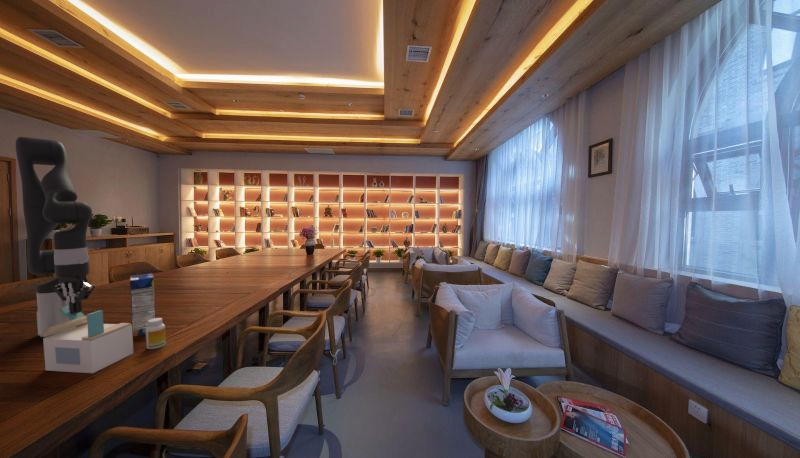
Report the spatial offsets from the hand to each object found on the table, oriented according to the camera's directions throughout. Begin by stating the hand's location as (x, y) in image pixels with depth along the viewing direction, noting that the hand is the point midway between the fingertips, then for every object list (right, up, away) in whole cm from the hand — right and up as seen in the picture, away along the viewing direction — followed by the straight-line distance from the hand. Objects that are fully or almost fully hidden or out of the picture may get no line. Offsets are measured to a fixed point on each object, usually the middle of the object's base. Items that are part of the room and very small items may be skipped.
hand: (75, 312), depth 96 cm
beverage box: (+4, -13, +21) cm, 25 cm away
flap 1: (+2, -3, -4) cm, 5 cm away
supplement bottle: (+21, -14, +7) cm, 26 cm away
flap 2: (+15, -5, -5) cm, 17 cm away
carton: (+9, -15, -3) cm, 18 cm away
